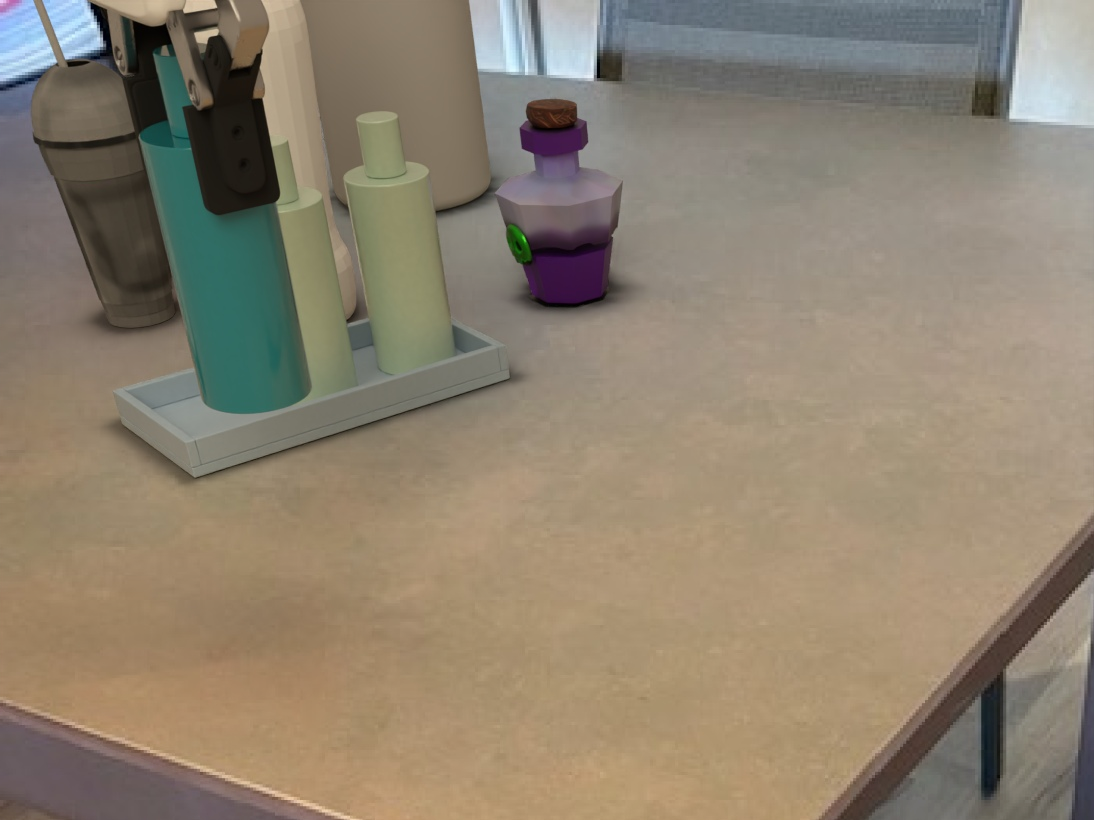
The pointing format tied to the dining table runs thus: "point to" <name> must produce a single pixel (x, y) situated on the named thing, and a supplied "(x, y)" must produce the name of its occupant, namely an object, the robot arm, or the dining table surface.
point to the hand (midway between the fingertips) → (212, 186)
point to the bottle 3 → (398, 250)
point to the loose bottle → (224, 273)
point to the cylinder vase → (402, 87)
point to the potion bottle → (560, 210)
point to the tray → (229, 439)
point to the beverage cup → (103, 184)
